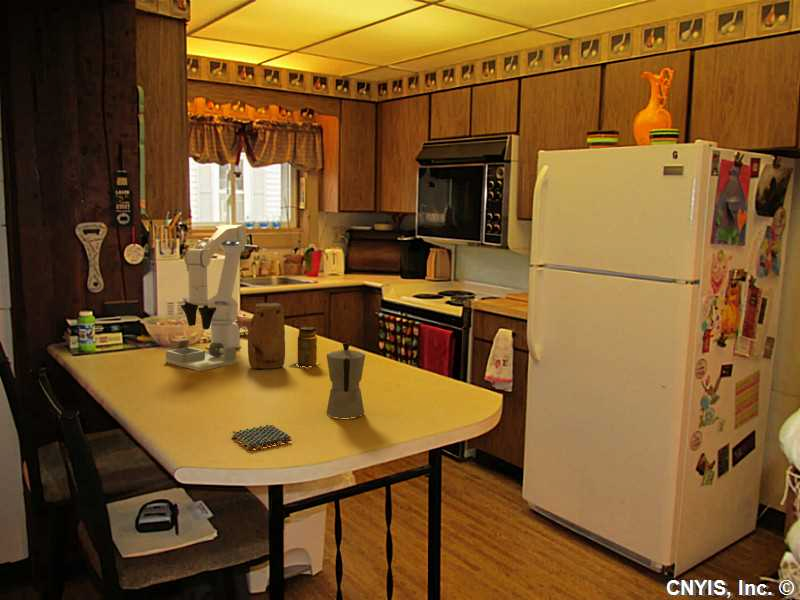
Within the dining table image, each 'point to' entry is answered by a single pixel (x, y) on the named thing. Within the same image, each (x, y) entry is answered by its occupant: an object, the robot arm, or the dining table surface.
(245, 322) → the bull figurine
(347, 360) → the coffeepot
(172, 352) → the chassis
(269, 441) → the woven mat
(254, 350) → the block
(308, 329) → the condiment
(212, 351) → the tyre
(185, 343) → the walnut block
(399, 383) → the dining table surface
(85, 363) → the dining table surface
